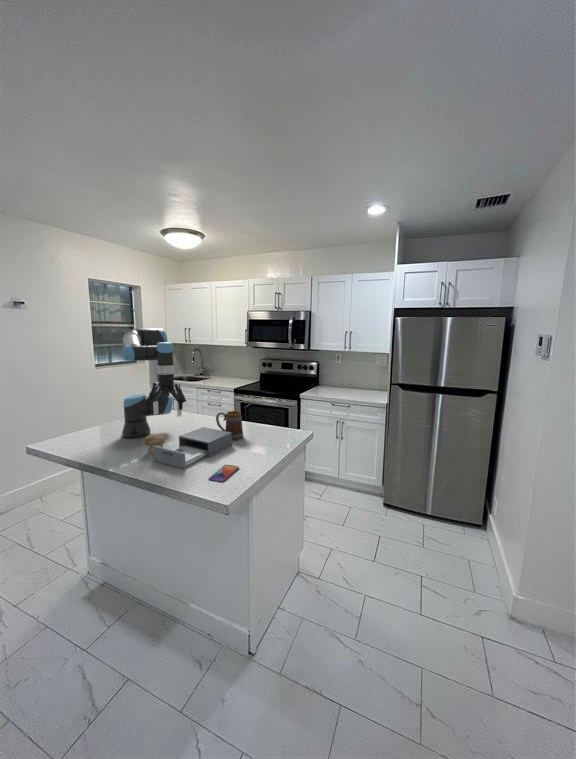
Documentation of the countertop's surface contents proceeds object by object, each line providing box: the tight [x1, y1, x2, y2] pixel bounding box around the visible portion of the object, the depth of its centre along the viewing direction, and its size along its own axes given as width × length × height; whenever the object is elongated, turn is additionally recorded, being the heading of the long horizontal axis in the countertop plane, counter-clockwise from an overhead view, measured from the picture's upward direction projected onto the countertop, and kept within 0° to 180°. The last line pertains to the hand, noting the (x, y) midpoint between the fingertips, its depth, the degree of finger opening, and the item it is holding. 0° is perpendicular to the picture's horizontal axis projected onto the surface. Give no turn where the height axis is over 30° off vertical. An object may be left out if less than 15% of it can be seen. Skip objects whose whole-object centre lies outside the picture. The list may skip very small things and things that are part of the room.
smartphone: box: [208, 464, 240, 483], centre depth 137 cm, size 7×15×1 cm, turn 163°
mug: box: [215, 410, 244, 441], centre depth 184 cm, size 16×11×15 cm
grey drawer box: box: [178, 426, 233, 458], centre depth 167 cm, size 18×20×8 cm
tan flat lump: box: [144, 433, 166, 447], centre depth 160 cm, size 9×9×3 cm
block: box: [147, 443, 164, 455], centre depth 160 cm, size 5×5×5 cm
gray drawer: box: [152, 445, 208, 470], centre depth 152 cm, size 17×20×7 cm
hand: (167, 415), depth 162 cm, fingers open, 13 cm apart
